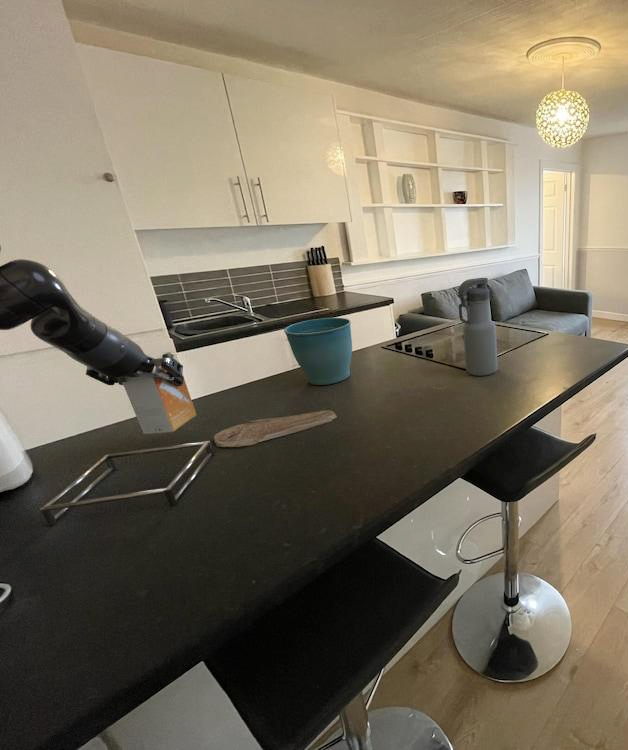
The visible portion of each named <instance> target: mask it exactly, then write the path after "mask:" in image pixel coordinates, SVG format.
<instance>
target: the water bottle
mask: <svg viewBox="0 0 628 750" xmlns="http://www.w3.org/2000/svg"><path fill="white" fill-rule="evenodd" d="M488 283H489V278H488V277H477V278H470V279H466V280H464V281H463V282H462V283H461V284H460V285H459V287H458V290H457V297H458V298H459V299H460V303H459V304H458V314H459V315H458V317H459V320H460V322H461V323H462V322H463V323H464V324H463V326H462V334H463V345H464V359H465V360H464V361H465V370H466V372H467V374H469V375H471V376H474V377H486V376H490V375H493V374H494V373H496V372H497V371H498V368H499V367H498V366H499V365H498V347H497V346H498V344H497V325H496V323H495V322H494V321H493V320H492V319H491V314H490V311H491V310H490V300H491V299H490V298H491V295H490V289H489V288H488ZM463 308H465V309H466V310H465V311H466V317H467V319H464V316H463V310H462V309H463Z"/></svg>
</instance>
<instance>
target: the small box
mask: <svg viewBox="0 0 628 750" xmlns="http://www.w3.org/2000/svg"><path fill="white" fill-rule="evenodd" d="M155 369H156V367H155V366H154V369H153V372H152V373H154V374H155ZM163 373H164V374H167V371H166V370H163ZM182 376H184V375H183V373H182ZM122 383H123V385H122V386H123V388H124V390H125V392H126V395H127V397H128V400H129V402H130V404H131V407H132V410H133V412H134V414H135V416H136V419H137V422H138V424H139V426H140V428H141V431H142V434H143V435H153V434H164V433H165V434H167V433H174V432H176V431H177V430H179V428H180V427H182V426H183V425H185V424H186V423H187V422H189V421H190V420H192V419H194V418H195V417H197V412H196V409H195V406H194V403H193V401H192V398H191V395H190V391H189V388H188V387H187V384H186V380H185V379H184V382H183V384H182V386H176V385H175V384H173V383H172V382H170V381H168V380H167V379H163V378H158V379H154V378H149V377H145V376H138V377H132V378H131V377H127V382H122Z"/></svg>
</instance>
